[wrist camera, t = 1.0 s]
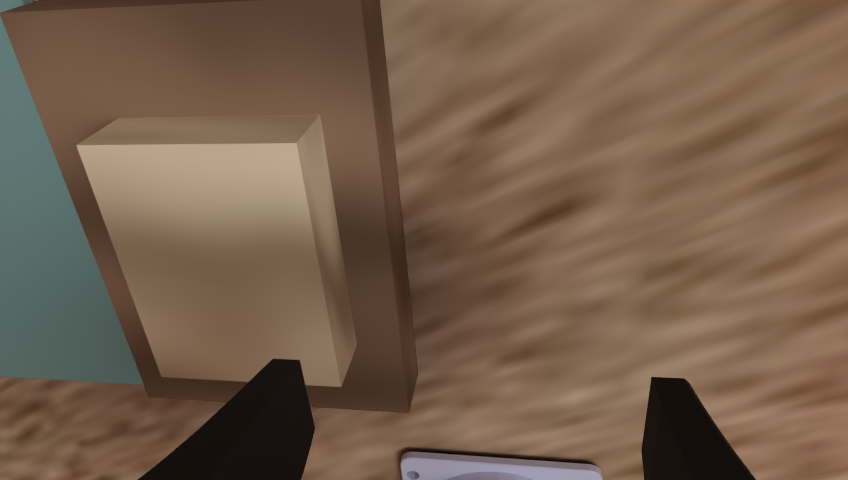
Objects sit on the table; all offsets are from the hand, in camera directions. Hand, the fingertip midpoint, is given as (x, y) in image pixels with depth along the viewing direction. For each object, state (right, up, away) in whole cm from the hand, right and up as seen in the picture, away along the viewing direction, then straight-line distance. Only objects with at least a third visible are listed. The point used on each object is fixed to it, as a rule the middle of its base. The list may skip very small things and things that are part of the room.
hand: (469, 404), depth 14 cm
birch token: (-6, +3, +7) cm, 10 cm away
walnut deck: (-7, +4, +8) cm, 12 cm away
